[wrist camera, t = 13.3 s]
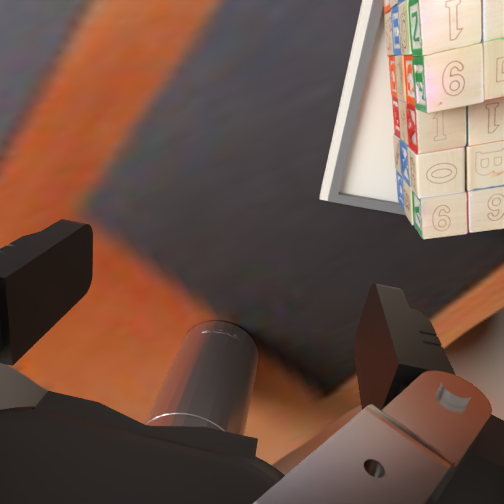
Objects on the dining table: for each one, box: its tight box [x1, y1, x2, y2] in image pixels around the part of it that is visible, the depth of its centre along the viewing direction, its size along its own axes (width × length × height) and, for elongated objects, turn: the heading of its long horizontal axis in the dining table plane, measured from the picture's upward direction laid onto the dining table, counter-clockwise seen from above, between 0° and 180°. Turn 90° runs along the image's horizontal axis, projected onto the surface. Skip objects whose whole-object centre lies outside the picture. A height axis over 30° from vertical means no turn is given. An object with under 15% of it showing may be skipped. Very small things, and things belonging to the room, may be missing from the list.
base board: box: [320, 0, 406, 215], centre depth 34 cm, size 26×12×2 cm, turn 172°
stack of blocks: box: [383, 0, 504, 239], centre depth 28 cm, size 21×6×12 cm, turn 12°
